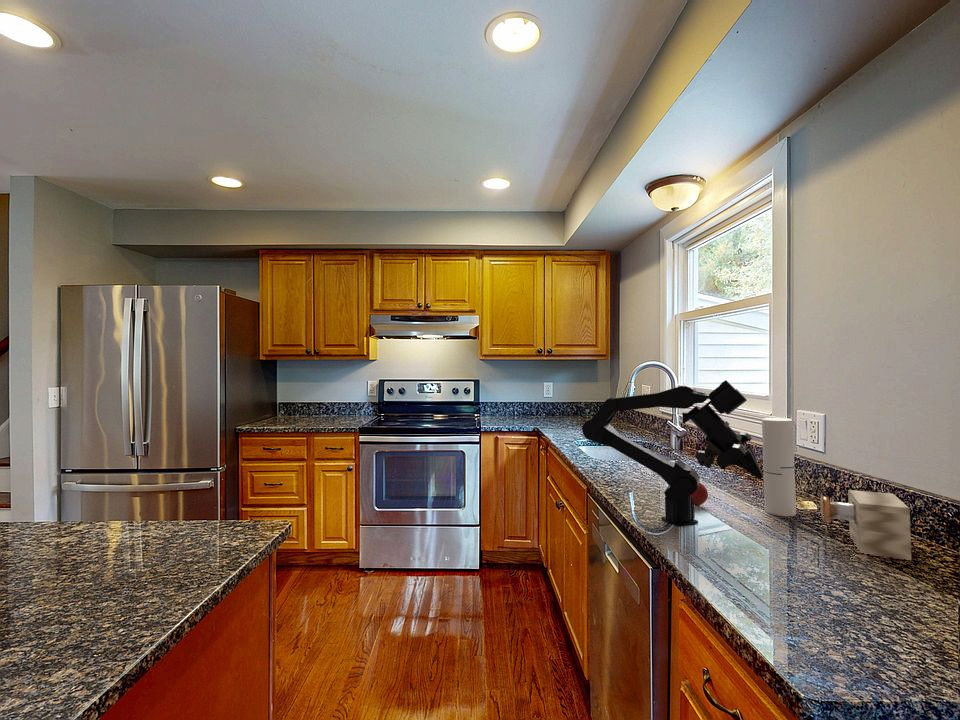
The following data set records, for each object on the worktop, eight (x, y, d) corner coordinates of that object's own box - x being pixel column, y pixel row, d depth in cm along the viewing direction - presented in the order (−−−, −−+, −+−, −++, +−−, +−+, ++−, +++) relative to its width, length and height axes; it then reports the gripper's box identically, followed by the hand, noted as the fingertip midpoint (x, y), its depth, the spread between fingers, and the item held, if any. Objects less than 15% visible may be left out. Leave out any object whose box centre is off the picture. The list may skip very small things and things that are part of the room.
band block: (861, 553, 99) (859, 503, 99) (849, 535, 109) (848, 489, 109) (911, 560, 95) (909, 507, 95) (894, 540, 105) (892, 493, 106)
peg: (824, 525, 104) (823, 499, 105) (821, 517, 109) (820, 493, 109) (878, 531, 100) (877, 504, 100) (871, 523, 105) (870, 498, 105)
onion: (684, 508, 133) (684, 479, 133) (686, 502, 138) (685, 475, 138) (707, 510, 130) (707, 481, 130) (708, 505, 135) (707, 477, 135)
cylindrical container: (801, 516, 123) (797, 420, 124) (771, 515, 125) (767, 420, 125) (789, 508, 130) (785, 418, 131) (760, 507, 132) (757, 418, 132)
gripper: (694, 437, 129) (737, 484, 124) (679, 453, 114) (728, 508, 109) (727, 412, 124) (774, 460, 119) (717, 426, 109) (770, 482, 104)
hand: (761, 477), depth 113 cm, fingers closed
